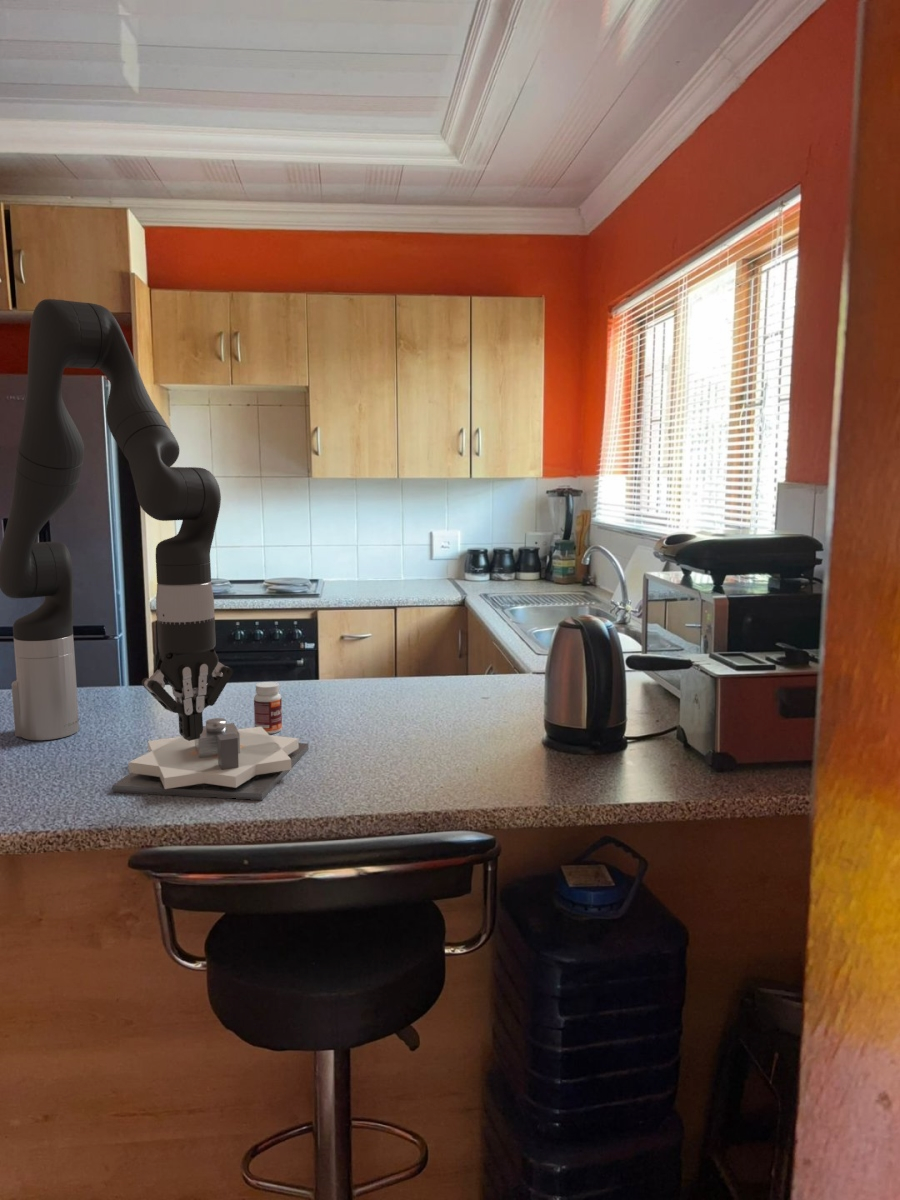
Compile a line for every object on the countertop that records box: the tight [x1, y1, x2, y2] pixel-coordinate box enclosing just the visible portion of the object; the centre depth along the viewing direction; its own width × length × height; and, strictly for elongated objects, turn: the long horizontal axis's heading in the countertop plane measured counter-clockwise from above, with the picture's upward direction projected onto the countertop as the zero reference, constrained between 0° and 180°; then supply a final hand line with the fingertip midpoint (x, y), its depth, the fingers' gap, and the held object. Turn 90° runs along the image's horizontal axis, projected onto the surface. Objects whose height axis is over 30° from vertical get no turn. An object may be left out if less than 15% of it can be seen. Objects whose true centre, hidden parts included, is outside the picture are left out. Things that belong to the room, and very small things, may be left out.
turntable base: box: [112, 742, 309, 801], centre depth 128 cm, size 22×22×1 cm
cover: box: [195, 717, 240, 758], centre depth 127 cm, size 6×6×4 cm
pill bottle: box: [253, 681, 283, 735], centre depth 147 cm, size 5×5×8 cm
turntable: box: [128, 726, 299, 789], centre depth 127 cm, size 26×26×6 cm
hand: (191, 738), depth 116 cm, fingers closed
